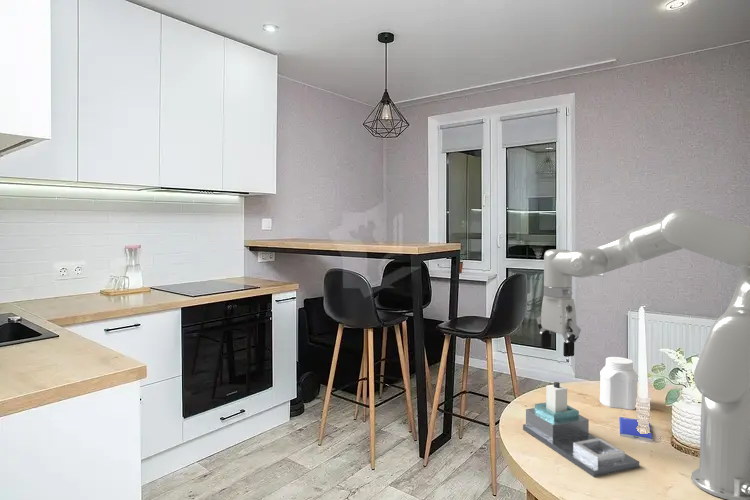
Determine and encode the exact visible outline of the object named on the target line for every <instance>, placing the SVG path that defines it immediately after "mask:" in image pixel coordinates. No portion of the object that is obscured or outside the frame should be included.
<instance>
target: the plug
mask: <svg viewBox="0 0 750 500" xmlns="http://www.w3.org/2000/svg"><path fill="white" fill-rule="evenodd" d="M545 388H546V389H545V396H546V397H545V399H546V400H545V403H546V408H547V409H549V410H551V411H553V412H555V413H556V412H562V411H567V405H568V388H567V387H565V386H562V385H561V382H559V381H554V382H553V384H547V385H546V386H545Z"/></svg>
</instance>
